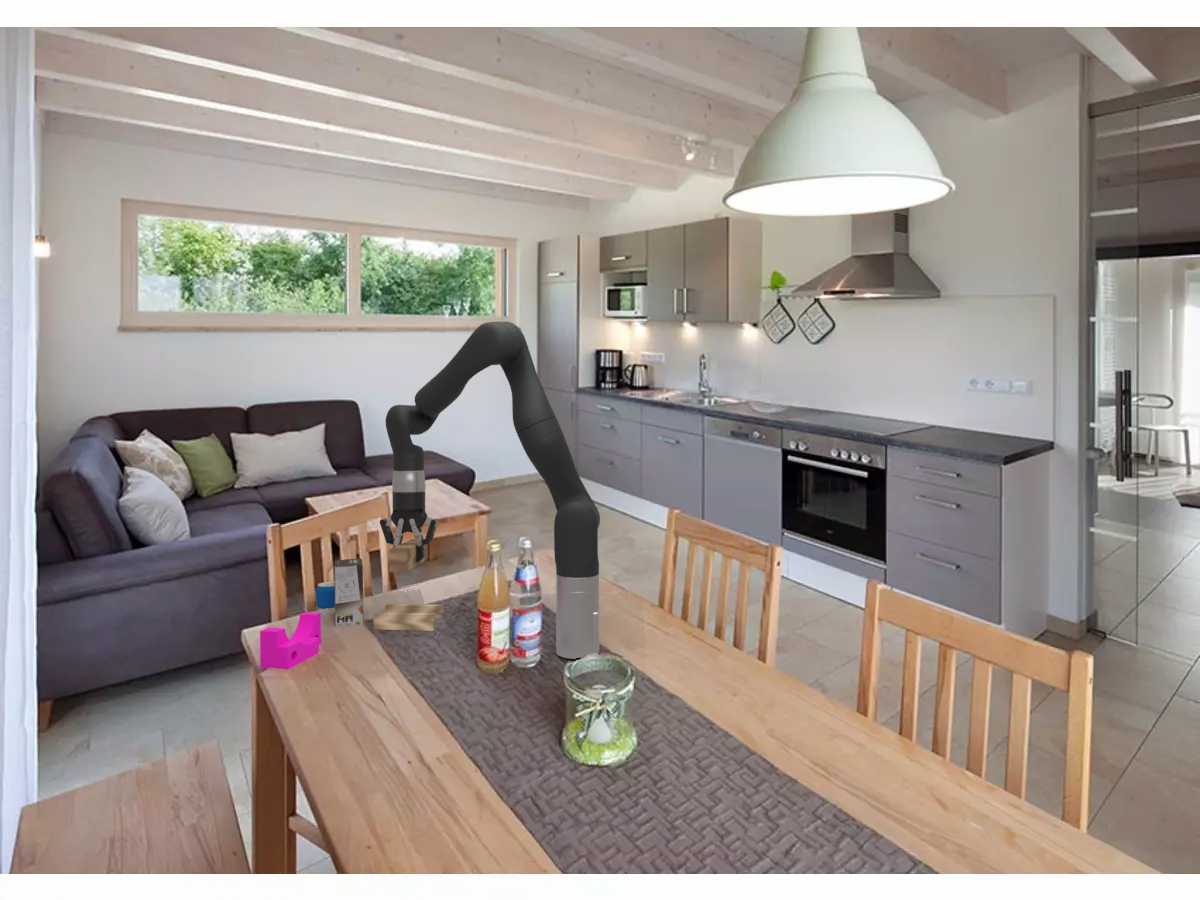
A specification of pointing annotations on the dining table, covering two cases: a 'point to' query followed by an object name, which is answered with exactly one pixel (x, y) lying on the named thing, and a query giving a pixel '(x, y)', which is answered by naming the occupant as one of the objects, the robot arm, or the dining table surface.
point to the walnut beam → (405, 556)
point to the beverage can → (325, 595)
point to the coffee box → (348, 592)
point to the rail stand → (408, 617)
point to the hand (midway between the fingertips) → (409, 561)
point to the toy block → (291, 643)
